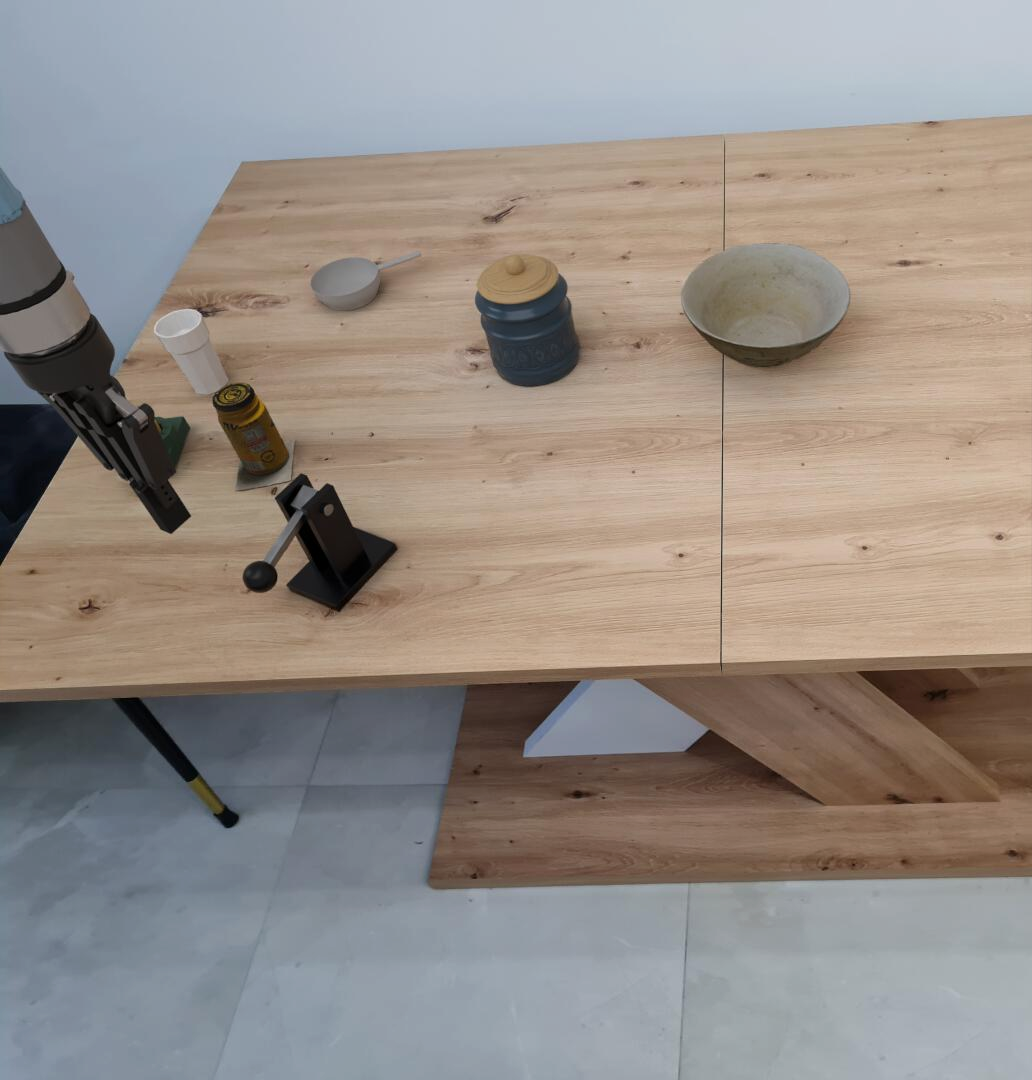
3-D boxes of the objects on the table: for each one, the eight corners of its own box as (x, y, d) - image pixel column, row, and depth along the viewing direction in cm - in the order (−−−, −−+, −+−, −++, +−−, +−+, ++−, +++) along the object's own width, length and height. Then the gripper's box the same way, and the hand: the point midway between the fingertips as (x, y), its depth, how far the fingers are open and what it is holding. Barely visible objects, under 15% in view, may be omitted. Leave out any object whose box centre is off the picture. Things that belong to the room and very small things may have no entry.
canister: (570, 324, 160) (548, 221, 147) (590, 374, 152) (569, 270, 138) (487, 345, 158) (457, 243, 145) (502, 397, 149) (472, 293, 136)
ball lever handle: (272, 602, 118) (253, 589, 114) (249, 591, 119) (229, 579, 116) (335, 504, 122) (319, 489, 119) (312, 495, 123) (295, 480, 120)
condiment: (294, 440, 146) (260, 372, 138) (291, 481, 141) (255, 414, 132) (241, 450, 146) (204, 383, 137) (236, 492, 140) (196, 425, 131)
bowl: (881, 359, 149) (885, 301, 142) (737, 421, 143) (732, 363, 135) (794, 280, 164) (793, 223, 156) (659, 333, 157) (651, 276, 150)
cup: (179, 388, 156) (144, 328, 148) (215, 364, 159) (182, 304, 151) (206, 403, 153) (172, 342, 145) (242, 378, 157) (211, 317, 149)
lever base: (339, 612, 125) (296, 534, 115) (289, 590, 128) (243, 513, 117) (397, 549, 131) (362, 470, 121) (349, 529, 134) (310, 451, 124)
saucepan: (312, 287, 172) (304, 267, 169) (419, 256, 176) (413, 236, 173) (323, 322, 165) (315, 301, 162) (435, 288, 169) (428, 268, 166)
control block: (174, 475, 143) (161, 454, 140) (127, 481, 143) (112, 460, 140) (192, 427, 150) (179, 406, 147) (146, 432, 150) (132, 411, 147)
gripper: (136, 323, 87) (250, 517, 105) (34, 289, 92) (159, 480, 109) (62, 377, 83) (194, 569, 100) (-41, 338, 87) (102, 528, 105)
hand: (176, 522), depth 105 cm, fingers closed
